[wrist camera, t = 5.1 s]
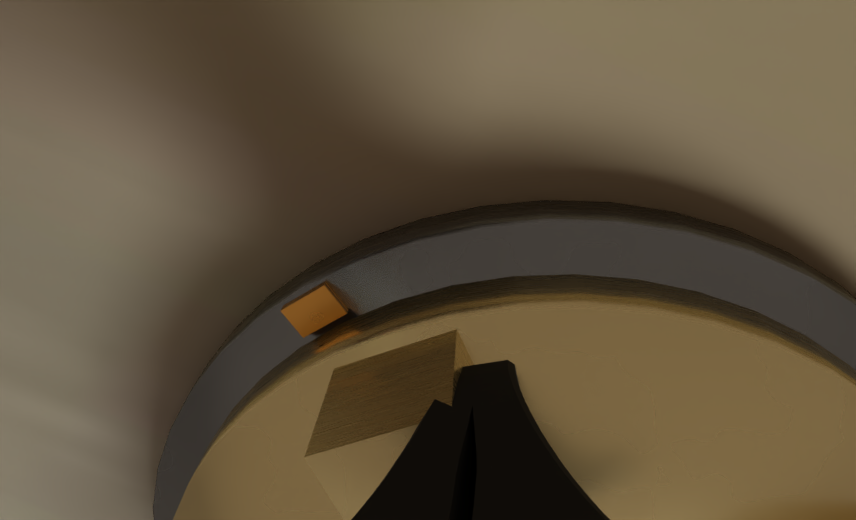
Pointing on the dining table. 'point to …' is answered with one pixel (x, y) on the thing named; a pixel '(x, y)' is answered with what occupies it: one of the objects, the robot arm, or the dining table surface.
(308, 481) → the round tray
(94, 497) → the dining table surface
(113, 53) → the dining table surface
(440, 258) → the grey plate
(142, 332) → the dining table surface
